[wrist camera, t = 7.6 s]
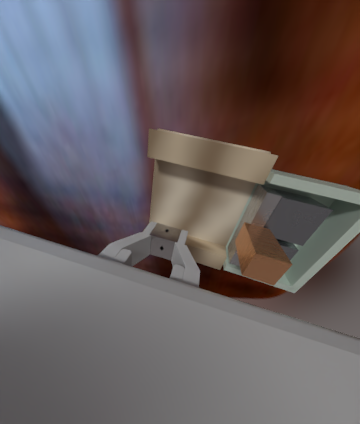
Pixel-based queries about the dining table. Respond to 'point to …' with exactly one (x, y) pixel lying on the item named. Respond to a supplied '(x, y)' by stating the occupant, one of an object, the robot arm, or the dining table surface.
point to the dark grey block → (296, 217)
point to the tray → (325, 234)
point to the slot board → (203, 188)
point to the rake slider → (259, 240)
